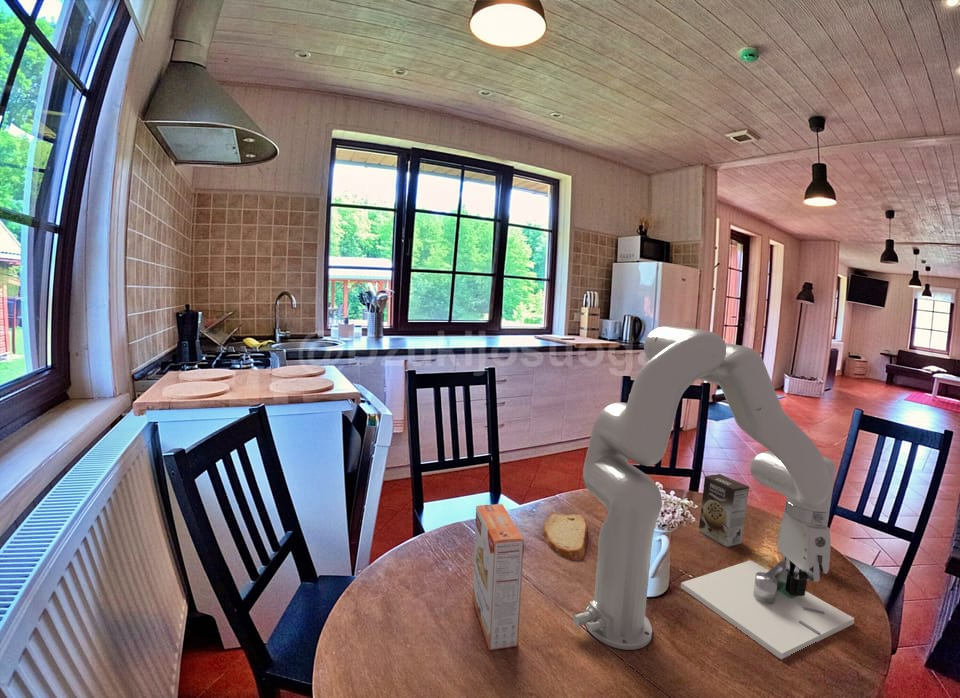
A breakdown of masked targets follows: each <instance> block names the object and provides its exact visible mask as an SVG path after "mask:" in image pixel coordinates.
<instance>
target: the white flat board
mask: <svg viewBox="0 0 960 698" xmlns="http://www.w3.org/2000/svg"><path fill="white" fill-rule="evenodd" d="M768 571H770V570H769V569H767V568H765V567H764V566H761V565H760V564H758V563H756V562H755V561H753V560H747V561H744V562H741V563H738V564H734V565H731V566H728V567H726V568H721V569H720V570H717V571H713V572H709V573H707V574H704V575H701V576H700V575H699V576H697V577H695V578H691V579H688V580H684V581H682V582H681V583H680V589H682V590H683V591H684V592H686V593H687V594H689V595H690V596H691V597H693V598H694V599H696V600H697V601H699V602H700V603H701V604H703V605H704V606H705V607H706V608H708V609H710V611H712V612H714V613H715V614H716V615H718V616H719V617H721V618H722V619H724V620H726V622H728V623H729V624H731V625H732V626H733V625H734V627H735V628H736V627H737V628H736V629H737V630H739V631H740V630H741V632H742V633H743V634H744V635H746V636H747V635H748V636H747V637H749V638H750V639H752V640H753V641H754V640H755V641H754V642H755V643H758V645H760V646H762V647H763V648H764V649H766V650H767V651H769V652H770V653H771V654H772V655H774V656H775V657H777V658H778V659H780V660H783V659H785V658H788V657H790V656H791V654H792V655H794V654H796V653H797V651H798V652H799V650H800V651H802V650H804V649H806V648H808V647H809V645H810V646H812V645H814V644H815V642H816V643H818V642H820V641H822V640H824V639H825V638H826V639H827V638H829V637H831V636H832V635H834V634H836V633H838V632H840V631H843V630H844V629H847V628H848V627H850V626H853V625H854V623H855V619H856V618H854V617H853V616H851V615H849V614H847V613H846V612H844V611H842V610H840V609H839V608H837V607H835V606H834V605H831V604H829V603H827V602H825V601H824V600H822V599H820V598H819V597H817V596H815V595H813V594H812V593H810V592H809V591H806V590H805V595H804V596H794V595H790V594H789V593H788V592H787V591H786V590H785V587H786V584H785V585H784V586H783V587H781V588H780V589H779V590H778V591H777V592H776V599H775V603H773V604H767V603H764V602H761V601H759V600H758V599H756V598H755V597H754V595H753V592H754V584H755V576H756V573H757V572H764V573H767V572H768ZM813 643H814V644H813ZM811 644H812V645H811ZM807 646H808V647H807ZM805 647H806V648H805ZM803 648H804V649H803ZM801 649H802V650H801ZM795 652H796V653H795ZM793 653H794V654H793Z"/></svg>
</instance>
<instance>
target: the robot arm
mask: <svg viewBox="0 0 960 698" xmlns="http://www.w3.org/2000/svg"><path fill="white" fill-rule="evenodd" d="M643 350H644V354H645V356H646V358H647V359H648V361H647V362H646V363H645V364H644V365H643V366H642V368H641V369H639V371H638V373H637V375H636V376H635V379H634V380H633V383H632V386H631V389H630V393H629V396H628V400H627V402H620V401H617V402H613V403H610V404H608V405H606V406H605V407H604V408H603V409H602V410H601V411H600V413H599V414H598V415H597V416H596V419H595V421H594V424H593V427H592V430H591V434H590V438H589V443H588V447H587V452H586V456H585V460H584V464H583V469H582V470H583V471H582V473H583V474H582V477H583V482H584V485H585V487H586V489H587V490H588V492H589V493H590V494H591V495H592V496H593V497H595V498H596V500H598V501H599V502H600V503H601V504H602V505H603V507H605V508H606V512H607V513H606V514H607V515H606V518H605V520H604V522H603V523H602V525H601V527H600V530H599V535H598V544H597V547H598V548H597V560H596V561H597V562H596V570H595V571H596V573H595V584H594V585H595V586H594V593H593V594H594V595H593V596H594V597H593V600H591V601H590V602H589V605H588V606H587V607H586V609H585V610H584V612H580V613H577V614H574V615H573V616H572V621H573V624H574V626H575V627H581V626H584V625H585V627H586V629H587V630H588V632H589V633H590V634H591V635H592V636H593V637H594V638H595V639H597V641H600V642H601V643H603V644H605V645H607V646H609V647H612V648H614V649H615V648H616V649H619V650H623V651H624V650H627V651H628V650H629V651H631V650H632V651H633V650H638V649H639V650H640V649H642V648H645V647H646V646H647V645H649V643H650V642H651V640H652V637H653V627H652V623H651V621H650V620H649V618H648V617H647V616H646V607H647V598H648V590H649V589H648V586H649V578H650V570H651V569H650V568H651V559H652V558H651V555H652V547H653V546H652V545H653V540H654V539H653V537H654V533H655V529H656V525H657V521H658V518H659V515H660V513H661V510H662V503H663V502H662V501H663V500H662V499H663V497H662V492H661V491H660V489H659V487H658V485H657V484H656V482H655V481H654V480H653V479H652V478H651V477H650V476H649V475H647V474H646V473H644V472H643V471H642V470H640V469H639V468H637V467H636V466H634V465H633V464H631V463H630V462H629V460H630V461H632V462H634V463H636V464H638V465H641V466H645V467H646V466H647V467H648V466H650V467H651V466H653V465H657V464H658V463H660V461H662V459H663V458H664V456H665V454H666V451H667V448H668V445H669V441H670V436H671V433H672V429H673V425H674V421H675V418H676V414H677V410H678V408H679V407H678V406H679V403H680V401H681V399H682V396H683V394H684V393H685V391H687V389H688V388H689V387H690V386H691V385H692V384H694V383H695V382H697V381H698V380H701V381H705V382H708V383H712V384H716V385H717V386H719V387H720V388H721V390H722V393H723V395H724V398H725V401H726V403H727V405H728V407H729V409H730V411H731V414H732V415H733V419H734V420H735V424H737V426H738V427H739V428H740V429H741V430H742V431H743V432H744V433H746V435H748V436H749V437H750V438H752V439H753V440H754V441H756V442H757V443H759V444H760V445H762V446H763V447H764V448H766V449H767V450H768V451H762V452H759V453H758V454H756V455H755V456H753V458H752V459H751V461H750V462H749V463H750V464H749V470H750V474H751V475H752V477H753V479H754V480H756V481H757V482H758V483H759V484H761V485H763V486H765V487H767V488H769V489H771V490H773V491H775V492H777V493H779V494H781V495H783V496H785V497H786V499H785V506H784V512H783V515H782V518H781V521H780V526H779V528H778V529H779V530H778V534H777V535H778V536H777V549H778V550H779V552H780V555H781V556H782V557H783V559H784V561H785V562H786V571H787V572H788V573H787V580H786V587H785V590H786V591H787V592H788V593H789V594H790V595H794V596H804V595H805V591H806V589H807V584H808V581H811V582H817V583H819V582H820V576H821V575H820V573H821V574H824V575H827V574H828V572H829V570H830V562H831V561H830V560H831V545H832V544H831V532H830V531H831V529H830V527H828V525H829V524H828V523H829V517H830V511H831V504H832V497H833V491H834V483H835V477H836V470H837V469H836V468H837V467H836V464H835V462H834V461H833V459H831V458H828V457H827V456H824V455H822V452H821V451H820V449H819V447H818V446H817V445H816V444H815V443H814V441H813V440H812V439H811V437H810V436H808V435H807V434H806V432H804V431H803V429H802V428H800V426H799V425H798V424H797V423H796V422H795V421H794V420H793V419H792V418H791V417H790V416H789V415H788V414H786V412H785V411H784V409H783V407H782V405H781V403H780V399H779V397H778V394H777V392H776V390H775V387H774V385H773V382H772V379H771V377H770V374H769V372H768V369H767V367H766V364H765V362H764V360H763V358H762V356H761V355H760V353H759V352H758V351H756V350H755V349H753V348H751V347H748V346H745V345H739V344H733V343H726V341H725V340H724V339H723V337H722V336H721V335H719V334H717V333H714V332H712V331H709V330H706V329H700V328H699V329H698V328H694V327H682V326H675V325H674V326H672V325H662V326H658V327H655V328H654V329H653V330H651V331H650V332H649V333H648V334H647V335H646V338H645V340H644V344H643Z"/></svg>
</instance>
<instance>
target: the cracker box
mask: <svg viewBox="0 0 960 698" xmlns="http://www.w3.org/2000/svg"><path fill="white" fill-rule="evenodd" d="M475 511H476V512H475V528H474V530H475V533H474V550H473V551H474V552H473V553H474V554H473V578H472V602H473V605H474V608H475V612H476V614H477V616H478V617H477V618H478V620H479V623H480V626H481V630H482V633H483V636H484V639H485V641H486V642H485V643H486V646H487V649H488V651H494V650H501V649H502V650H503V649H508V648H516V647H519V638H520V624H521V623H520V621H521V620H520V619H521V604H522V603H521V601H522V585H523V568H524V554H525V553H524V552H525V551H524V550H525V539H524V537H523V536H522V534H521V532H520V530H519V529H518V527H517V526H516V524H515V523H514V521H513V519H512V518H511V516H510V514H509V512H508V511H507V509H506V507H505V506H504V504H503V503H498V504H497V503H496V504H495V503H494V504H482V505H476V507H475Z"/></svg>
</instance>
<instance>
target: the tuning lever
mask: <svg viewBox="0 0 960 698" xmlns="http://www.w3.org/2000/svg"><path fill="white" fill-rule="evenodd" d="M787 573H788V572H787V571H786V561H785V560H781V561H780V562H778V563H777V564H776V565H775V566H773V567H772V568H770V570H769V571H768V572H767V573H764V572H757V573H756V576H755V584H754V592H753V595H754V597H755V598H756V599H758V600H759V601H761V602H764V603H767V604H773V603H775V599H776V592H777V591H778V590H779V589H780V588H781V587H783V586H784V585H785V584H786V580H787Z"/></svg>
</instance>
